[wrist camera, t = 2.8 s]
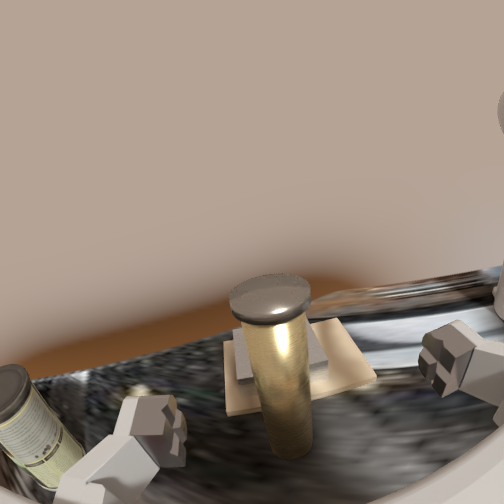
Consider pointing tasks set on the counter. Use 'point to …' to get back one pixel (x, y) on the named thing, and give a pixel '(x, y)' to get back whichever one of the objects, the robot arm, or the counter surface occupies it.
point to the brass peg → (278, 356)
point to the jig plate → (339, 379)
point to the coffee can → (34, 430)
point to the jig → (243, 366)
